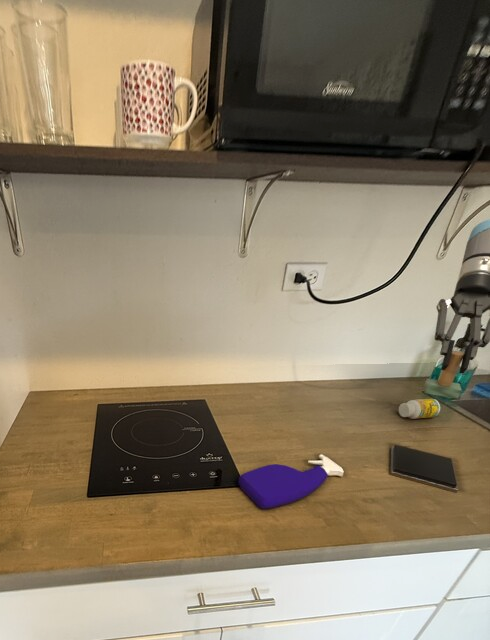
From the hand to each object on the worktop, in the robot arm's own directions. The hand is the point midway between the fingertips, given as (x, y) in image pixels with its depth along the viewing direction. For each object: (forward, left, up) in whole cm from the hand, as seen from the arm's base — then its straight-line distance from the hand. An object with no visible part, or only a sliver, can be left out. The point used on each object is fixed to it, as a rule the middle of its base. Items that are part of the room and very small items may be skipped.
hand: (453, 369), depth 90 cm
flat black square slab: (+1, +14, -20) cm, 24 cm away
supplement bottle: (-3, -17, -18) cm, 25 cm away
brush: (0, -4, -8) cm, 9 cm away
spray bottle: (+26, +33, -20) cm, 47 cm away
